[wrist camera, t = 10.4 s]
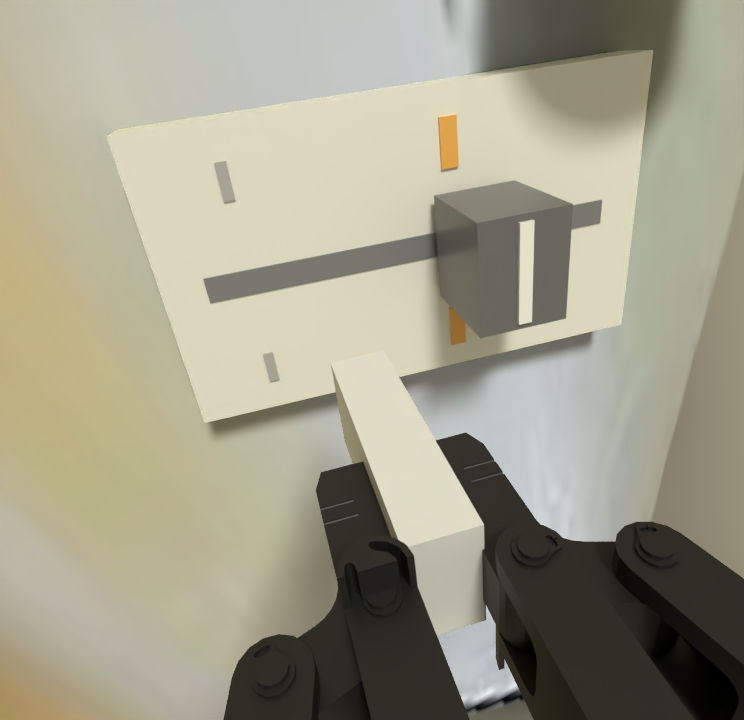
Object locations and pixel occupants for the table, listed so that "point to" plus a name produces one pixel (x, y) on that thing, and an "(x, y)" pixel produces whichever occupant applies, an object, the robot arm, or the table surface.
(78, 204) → the table surface
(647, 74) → the console
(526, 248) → the fader tab
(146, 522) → the table surface
